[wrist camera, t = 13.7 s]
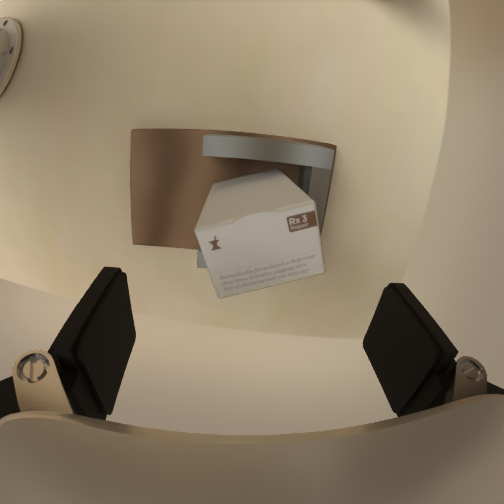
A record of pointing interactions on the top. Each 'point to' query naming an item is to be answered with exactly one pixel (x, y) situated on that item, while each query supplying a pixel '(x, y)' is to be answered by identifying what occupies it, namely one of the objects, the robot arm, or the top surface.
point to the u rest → (211, 176)
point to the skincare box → (259, 233)
